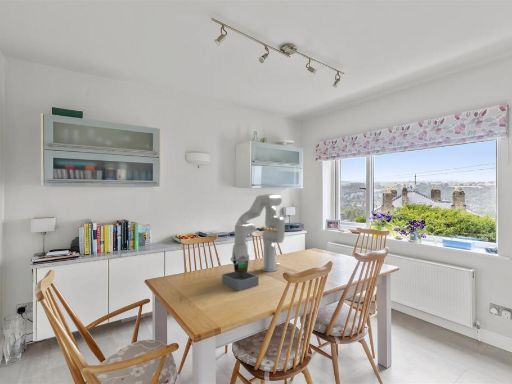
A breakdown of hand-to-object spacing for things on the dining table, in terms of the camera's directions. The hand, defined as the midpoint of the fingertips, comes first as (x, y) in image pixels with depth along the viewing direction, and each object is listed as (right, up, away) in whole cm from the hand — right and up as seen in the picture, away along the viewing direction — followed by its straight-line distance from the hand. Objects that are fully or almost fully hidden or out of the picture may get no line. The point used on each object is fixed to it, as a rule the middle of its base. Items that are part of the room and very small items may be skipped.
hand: (240, 268), depth 184 cm
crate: (0, -11, 0) cm, 11 cm away
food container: (-1, -2, 0) cm, 2 cm away
